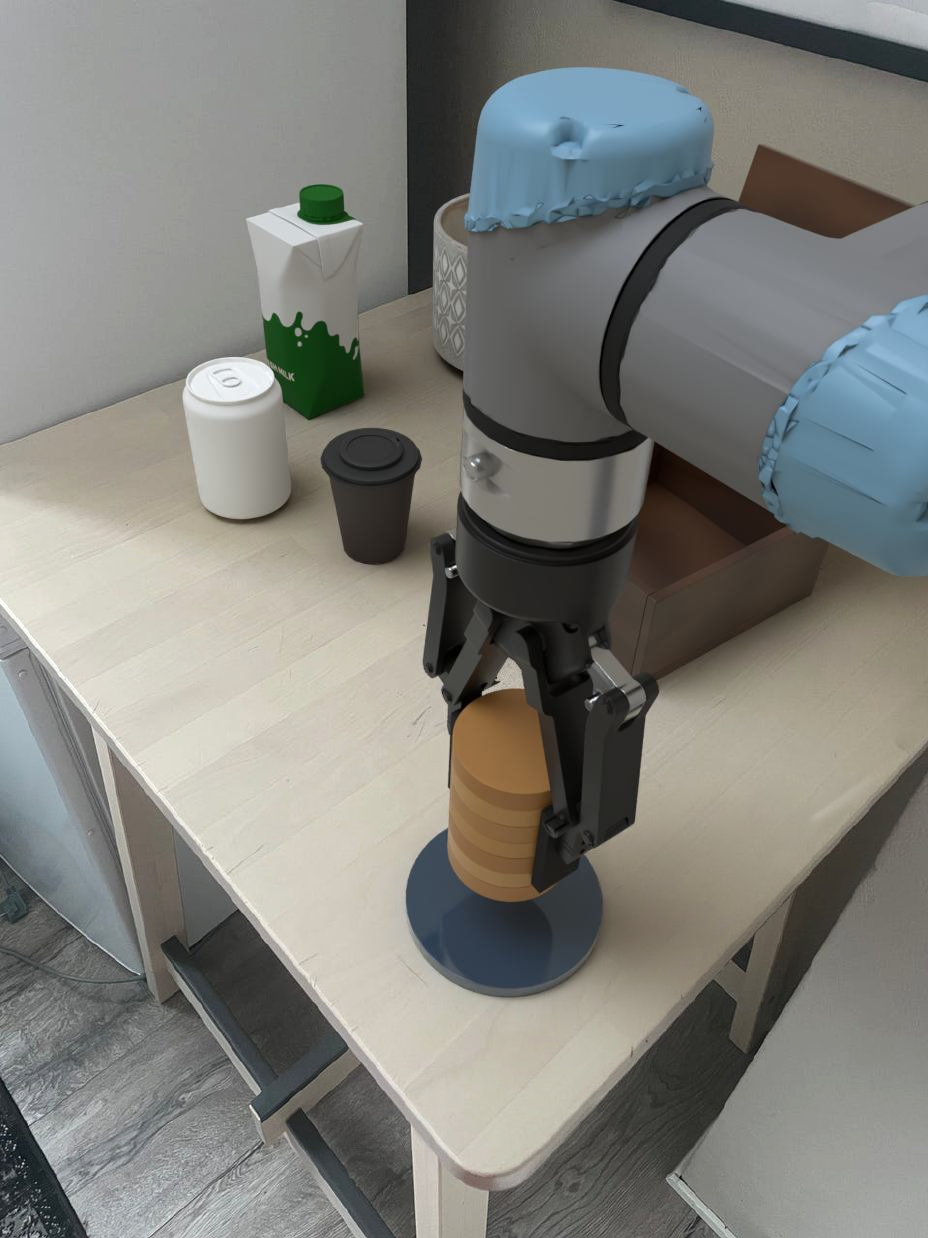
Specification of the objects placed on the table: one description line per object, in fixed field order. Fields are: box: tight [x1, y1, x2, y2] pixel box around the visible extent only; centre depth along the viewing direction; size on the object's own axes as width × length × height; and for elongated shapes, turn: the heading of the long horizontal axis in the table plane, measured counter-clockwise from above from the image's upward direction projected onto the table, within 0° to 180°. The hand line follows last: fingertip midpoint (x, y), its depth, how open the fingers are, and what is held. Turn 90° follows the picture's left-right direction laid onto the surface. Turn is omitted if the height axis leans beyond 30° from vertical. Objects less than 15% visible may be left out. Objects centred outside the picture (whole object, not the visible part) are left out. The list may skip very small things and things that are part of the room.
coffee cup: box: [320, 427, 423, 565], centre depth 85 cm, size 8×8×10 cm
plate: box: [405, 827, 604, 998], centre depth 63 cm, size 12×12×1 cm
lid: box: [737, 143, 917, 239], centre depth 80 cm, size 21×19×5 cm
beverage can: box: [182, 356, 292, 520], centre depth 88 cm, size 8×8×12 cm
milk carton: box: [245, 183, 365, 420], centre depth 99 cm, size 9×9×20 cm
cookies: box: [447, 687, 558, 902], centre depth 56 cm, size 7×7×10 cm
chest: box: [610, 441, 831, 681], centre depth 83 cm, size 20×19×9 cm
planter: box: [431, 192, 470, 372], centre depth 109 cm, size 19×19×14 cm
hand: (510, 826), depth 58 cm, fingers closed on cookies, 7 cm apart
